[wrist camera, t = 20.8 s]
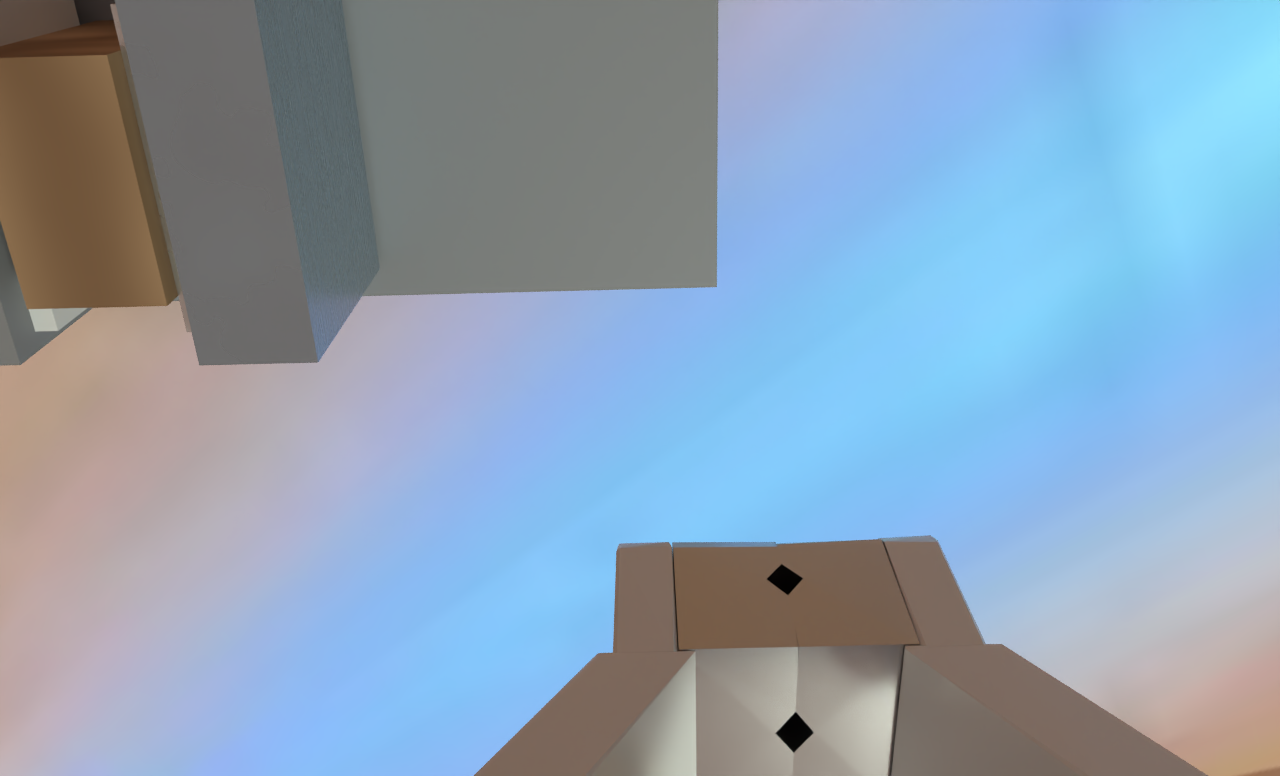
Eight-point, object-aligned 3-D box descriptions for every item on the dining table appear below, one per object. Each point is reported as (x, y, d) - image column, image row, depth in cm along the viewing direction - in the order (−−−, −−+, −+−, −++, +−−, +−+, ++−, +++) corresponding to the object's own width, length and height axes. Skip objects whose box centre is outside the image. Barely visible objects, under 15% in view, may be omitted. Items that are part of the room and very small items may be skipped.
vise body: (713, -97, 30) (740, -87, 22) (712, 265, 35) (734, 382, 27) (-44, -75, 31) (-290, -56, 22) (58, 282, 35) (-114, 403, 27)
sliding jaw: (335, -43, 29) (250, -21, 22) (379, 268, 33) (317, 362, 26) (204, -40, 29) (83, -15, 23) (264, 271, 33) (175, 366, 26)
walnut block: (219, 17, 30) (106, 55, 23) (259, 222, 32) (167, 305, 26) (97, 20, 30) (-49, 59, 23) (146, 224, 32) (27, 309, 26)
